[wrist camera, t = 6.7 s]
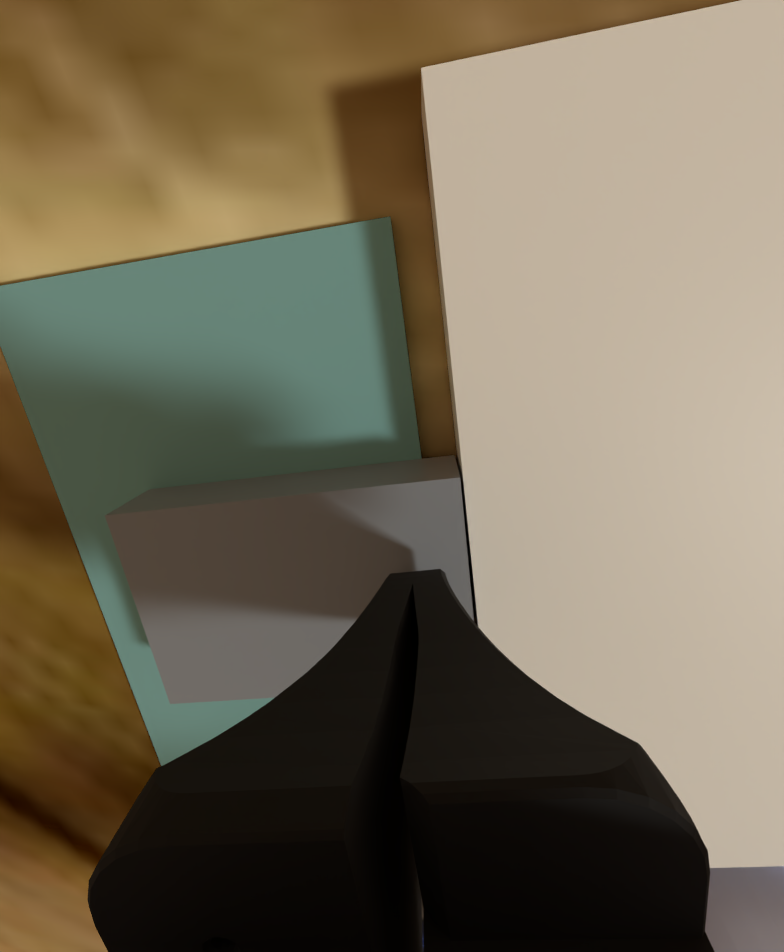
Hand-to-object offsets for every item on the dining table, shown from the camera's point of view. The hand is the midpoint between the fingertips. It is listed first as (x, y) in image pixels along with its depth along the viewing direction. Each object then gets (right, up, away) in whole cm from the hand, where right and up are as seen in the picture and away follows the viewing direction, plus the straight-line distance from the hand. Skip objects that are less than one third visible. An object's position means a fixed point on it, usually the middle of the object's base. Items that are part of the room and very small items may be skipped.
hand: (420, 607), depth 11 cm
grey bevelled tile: (-3, 0, +3) cm, 4 cm away
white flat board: (+8, +2, +2) cm, 9 cm away
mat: (-5, 0, +3) cm, 6 cm away
